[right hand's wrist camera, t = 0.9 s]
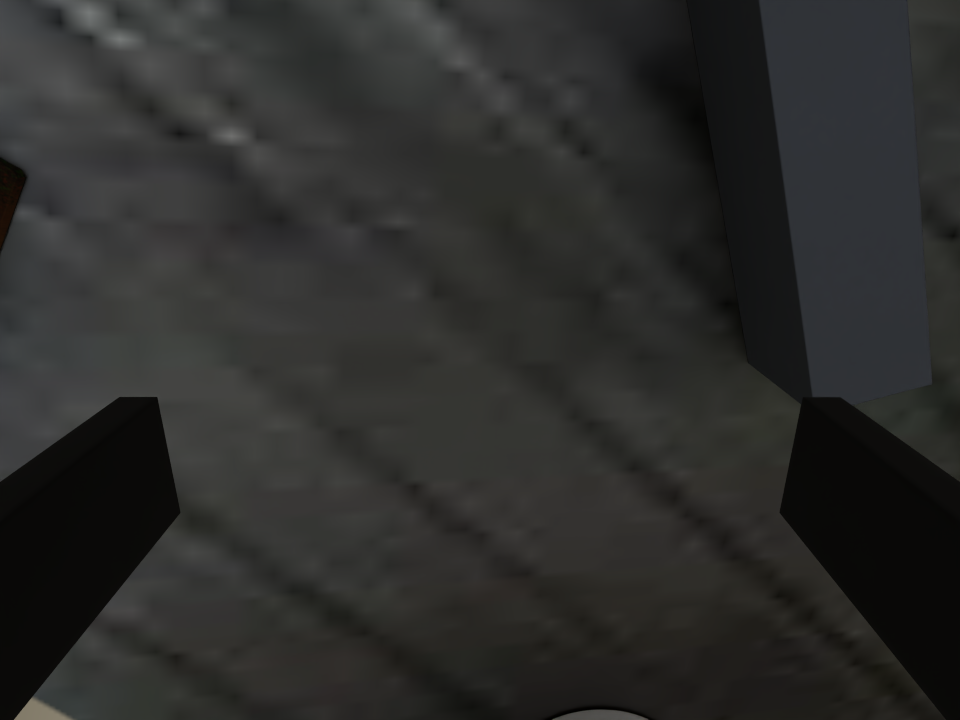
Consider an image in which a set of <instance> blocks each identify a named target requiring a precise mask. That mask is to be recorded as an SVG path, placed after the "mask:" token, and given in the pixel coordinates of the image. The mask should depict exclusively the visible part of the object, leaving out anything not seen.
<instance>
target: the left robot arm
mask: <svg viewBox="0 0 960 720" xmlns="http://www.w3.org/2000/svg"><path fill="white" fill-rule="evenodd" d="M552 720H649V719H646V718H644V717H642V716H639V715H636V714H632V713H628V712H623V711H617V710H586V711H579V712H574V713H570V714H566V715H563V716H560V717H557V718H554V719H552Z"/></svg>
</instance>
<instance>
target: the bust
mask: <svg viewBox="0 0 960 720" xmlns="http://www.w3.org/2000/svg"><path fill="white" fill-rule="evenodd" d="M25 179H26V177H25V175H24V173H23V172H22V170H21V169H19V168H17V167H16V166H14V165H12V164H10V163H8V162H7V161H5V160H3V159H1V158H0V250H1V247H2V244H3V242H4V239H5V236H6V233H7V230H8V227H9V225H10V222H11V219H12V216H13V213H14V210H15V208H16V205H17V202H18V199H19V196H20V193H21V191H22V188H23V185H24V182H25Z"/></svg>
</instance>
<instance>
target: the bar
mask: <svg viewBox="0 0 960 720" xmlns="http://www.w3.org/2000/svg"><path fill="white" fill-rule="evenodd" d="M687 4H688V10H689V16H690V22H691V28H692V34H693V40H694V46H695V51H696V57H697V63H698V69H699V75H700V81H701V87H702V93H703V99H704V105H705V110H706V116H707V122H708V128H709V134H710V140H711V146H712V152H713V158H714V164H715V169H716V175H717V181H718V187H719V193H720V199H721V205H722V211H723V217H724V222H725V228H726V234H727V240H728V246H729V252H730V258H731V264H732V270H733V276H734V281H735V287H736V293H737V299H738V305H739V311H740V317H741V323H742V329H743V334H744V340H745V346H746V352H747V358H748V363H749V364H750V365H752V366H753V367H754V368H755V369H757V370H758V371H759V372H761V373H762V374H763V375H764V376H766V377H767V378H768V379H770V380H771V381H772V382H773V383H775V384H776V385H777V386H778V387H780V388H781V389H782V390H784V391H785V392H786V393H787V394H789V395H790V396H791V397H793V398H794V399H795V400H796V401H798V402H799V403H800V404H802V399H803V397H841V398H842V399H844V400H845V401H847V402H848V403H849V404H851V405H855V404H859V403H863V402H866V401H870V400H874V399H878V398H881V397H885V396H889V395H893V394H896V393H900V392H904V391H908V390H911V389H915V388H919V387H923V386H927V385H930V384H932V374H931V359H930V343H929V328H928V312H927V297H926V281H925V266H924V250H923V235H922V220H921V204H920V189H919V173H918V158H917V142H916V127H915V111H914V96H913V80H912V65H911V49H910V34H909V18H908V3H907V0H687Z"/></svg>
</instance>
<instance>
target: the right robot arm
mask: <svg viewBox="0 0 960 720" xmlns="http://www.w3.org/2000/svg"><path fill="white" fill-rule="evenodd" d="M179 514H180V508H179V503H178V498H177V493H176V488H175V483H174V478H173V473H172V468H171V463H170V458H169V453H168V448H167V444H166V439H165V434H164V429H163V424H162V419H161V414H160V409H159V404H158V399H157V397H119V398H118V399H116V400H115V401H113V402H112V403H111V404H109V405H108V406H106V407H105V408H104V409H102V410H101V411H99V412H98V413H96V414H95V415H94V416H92V417H91V418H89V419H88V420H87V421H85V422H84V423H82V424H81V425H80V426H78V427H77V428H75V429H74V430H73V431H71V432H70V433H68V434H67V435H66V436H64V437H63V438H61V439H60V440H59V441H57V442H56V443H54V444H53V445H52V446H50V447H49V448H47V449H46V450H45V451H43V452H42V453H40V454H39V455H38V456H36V457H35V458H33V459H32V460H30V461H29V462H28V463H26V464H25V465H23V466H22V467H21V468H19V469H18V470H16V471H15V472H14V473H12V474H11V475H9V476H8V477H7V478H5V479H4V480H2V481H1V482H0V720H14V719H15V718H16V716H17V715H18V714H19V713H20V711H21V710H22V709H23V708H24V706H25V705H26V704H27V703H28V701H29V700H30V699H31V698H32V696H33V695H34V694H35V693H36V691H37V690H38V689H39V688H40V686H41V685H42V684H43V683H44V682H45V680H46V679H47V678H48V677H49V675H50V674H51V673H52V672H53V670H54V669H55V668H56V667H57V665H58V664H59V663H60V662H61V660H62V659H63V658H64V657H65V655H66V654H67V653H68V652H69V650H70V649H71V648H72V647H73V645H74V644H75V643H76V642H77V641H78V639H79V638H80V637H81V636H82V634H83V633H84V632H85V631H86V629H87V628H88V627H89V626H90V624H91V623H92V622H93V621H94V619H95V618H96V617H97V616H98V614H99V613H100V612H101V611H102V609H103V608H104V607H105V606H106V604H107V603H108V602H109V601H110V600H111V598H112V597H113V596H114V595H115V593H116V592H117V591H118V590H119V588H120V587H121V586H122V585H123V583H124V582H125V581H126V580H127V578H128V577H129V576H130V575H131V573H132V572H133V571H134V570H135V568H136V567H137V566H138V565H139V563H140V562H141V561H142V560H143V559H144V557H145V556H146V555H147V554H148V552H149V551H150V550H151V549H152V547H153V546H154V545H155V544H156V542H157V541H158V540H159V539H160V537H161V536H162V535H163V534H164V532H165V531H166V530H167V529H168V527H169V526H170V525H171V524H172V522H173V521H174V520H175V519H176V518H177V516H178V515H179ZM780 514H781V515H782V516H783V518H784V519H785V520H786V521H787V522H788V524H789V525H790V526H791V527H792V529H793V530H794V531H795V532H796V534H797V535H798V536H799V537H800V539H801V540H802V541H803V542H804V544H805V545H806V546H807V547H808V549H809V550H810V551H811V552H812V554H813V555H814V556H815V557H816V559H817V560H818V561H819V562H820V563H821V565H822V566H823V567H824V568H825V570H826V571H827V572H828V573H829V575H830V576H831V577H832V578H833V580H834V581H835V582H836V583H837V585H838V586H839V587H840V588H841V590H842V591H843V592H844V593H845V595H846V596H847V597H848V598H849V600H850V601H851V602H852V603H853V604H854V606H855V607H856V608H857V609H858V611H859V612H860V613H861V614H862V616H863V617H864V618H865V619H866V621H867V622H868V623H869V624H870V626H871V627H872V628H873V629H874V631H875V632H876V633H877V634H878V636H879V637H880V638H881V639H882V641H883V642H884V643H885V644H886V645H887V647H888V648H889V649H890V650H891V652H892V653H893V654H894V655H895V657H896V658H897V659H898V660H899V662H900V663H901V664H902V665H903V667H904V668H905V669H906V670H907V672H908V673H909V674H910V675H911V677H912V678H913V679H914V680H915V682H916V683H917V684H918V685H919V686H920V688H921V689H922V690H923V691H924V693H925V694H926V695H927V696H928V698H929V699H930V700H931V701H932V703H933V704H934V705H935V706H936V708H937V709H938V710H939V711H940V713H941V714H942V715H943V716H944V718H945V719H946V720H960V482H959V481H958V480H956V479H955V478H953V477H952V476H951V475H949V474H948V473H946V472H945V471H944V470H942V469H941V468H939V467H938V466H937V465H935V464H934V463H932V462H931V461H930V460H928V459H927V458H925V457H924V456H922V455H921V454H920V453H918V452H917V451H915V450H914V449H913V448H911V447H910V446H908V445H907V444H906V443H904V442H903V441H901V440H900V439H899V438H897V437H896V436H894V435H893V434H892V433H890V432H889V431H887V430H886V429H885V428H883V427H882V426H880V425H879V424H878V423H876V422H875V421H873V420H872V419H871V418H869V417H868V416H866V415H865V414H864V413H862V412H861V411H859V410H858V409H856V408H855V407H854V406H852V405H851V404H849V403H848V402H847V401H845V400H844V399H842V398H841V397H803V399H802V404H801V409H800V414H799V419H798V424H797V429H796V434H795V439H794V444H793V448H792V453H791V458H790V463H789V468H788V473H787V478H786V483H785V488H784V493H783V498H782V503H781V508H780Z"/></svg>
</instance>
